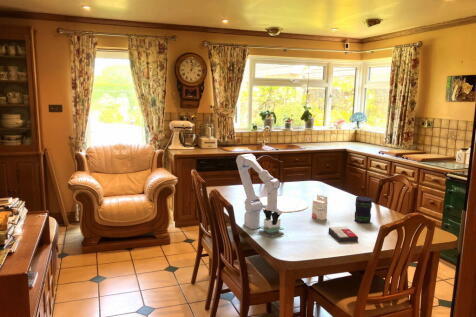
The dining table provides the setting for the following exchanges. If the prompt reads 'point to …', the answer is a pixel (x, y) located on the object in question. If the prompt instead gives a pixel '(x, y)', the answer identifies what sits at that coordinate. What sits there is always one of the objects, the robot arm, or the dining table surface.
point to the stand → (271, 232)
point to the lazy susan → (287, 204)
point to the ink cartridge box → (319, 208)
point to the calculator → (343, 234)
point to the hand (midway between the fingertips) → (271, 223)
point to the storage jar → (363, 210)
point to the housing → (271, 224)
